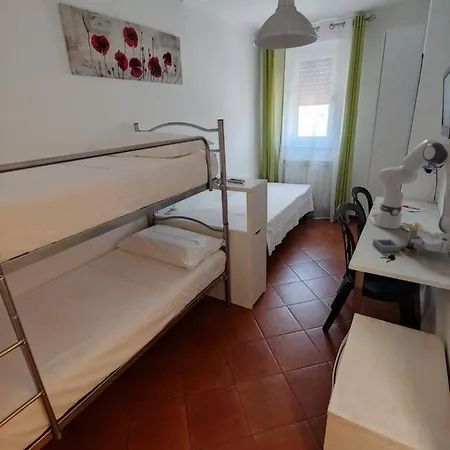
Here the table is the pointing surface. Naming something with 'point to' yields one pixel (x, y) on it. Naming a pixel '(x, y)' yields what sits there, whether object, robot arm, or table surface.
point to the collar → (409, 250)
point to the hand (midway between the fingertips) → (409, 238)
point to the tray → (386, 246)
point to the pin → (412, 236)
